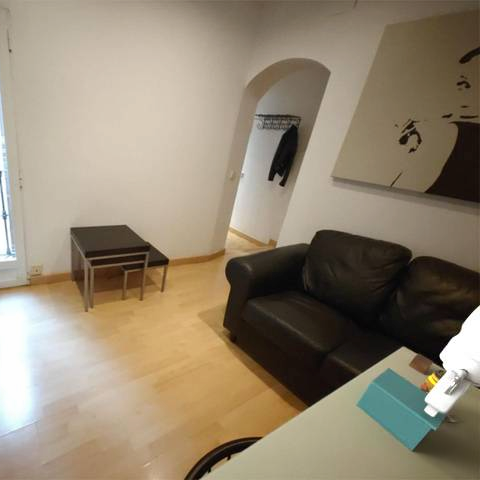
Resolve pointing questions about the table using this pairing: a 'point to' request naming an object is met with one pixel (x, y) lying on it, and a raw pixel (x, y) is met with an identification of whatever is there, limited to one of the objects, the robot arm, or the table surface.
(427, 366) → the block
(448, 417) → the condiment
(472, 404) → the table surface
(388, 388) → the teal box lid
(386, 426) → the teal hinged box
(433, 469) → the table surface
